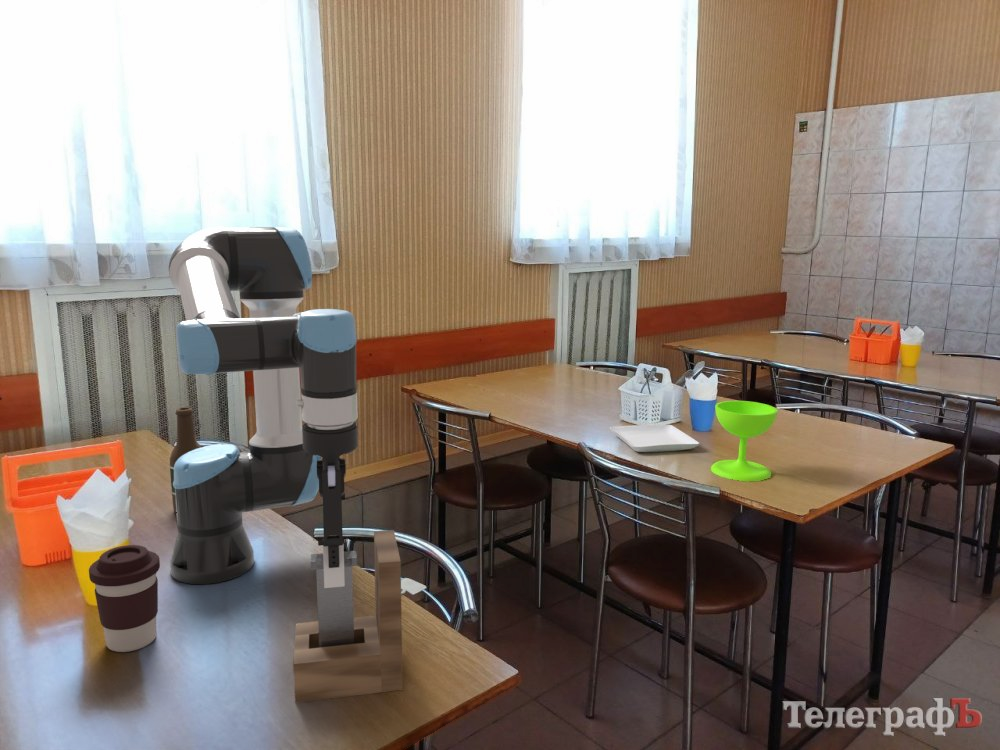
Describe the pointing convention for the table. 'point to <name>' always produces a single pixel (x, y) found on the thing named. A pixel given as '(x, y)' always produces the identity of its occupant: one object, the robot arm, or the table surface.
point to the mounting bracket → (411, 586)
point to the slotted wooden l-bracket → (357, 641)
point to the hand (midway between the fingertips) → (333, 563)
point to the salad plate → (654, 438)
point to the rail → (335, 604)
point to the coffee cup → (127, 596)
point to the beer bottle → (182, 441)
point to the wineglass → (743, 437)
